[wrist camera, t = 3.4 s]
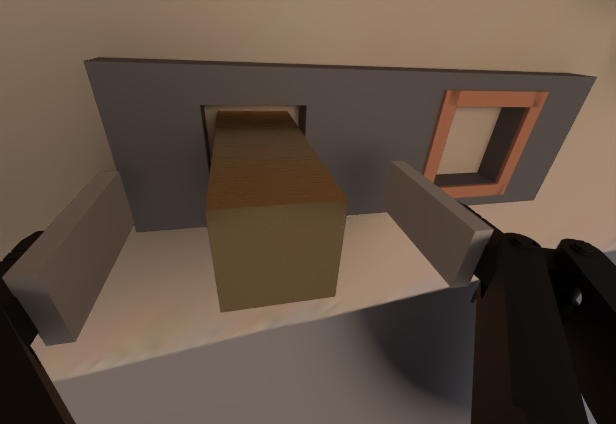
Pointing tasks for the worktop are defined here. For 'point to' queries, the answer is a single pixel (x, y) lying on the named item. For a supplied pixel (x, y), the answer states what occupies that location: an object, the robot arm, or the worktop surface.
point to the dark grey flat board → (328, 126)
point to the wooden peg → (271, 213)
